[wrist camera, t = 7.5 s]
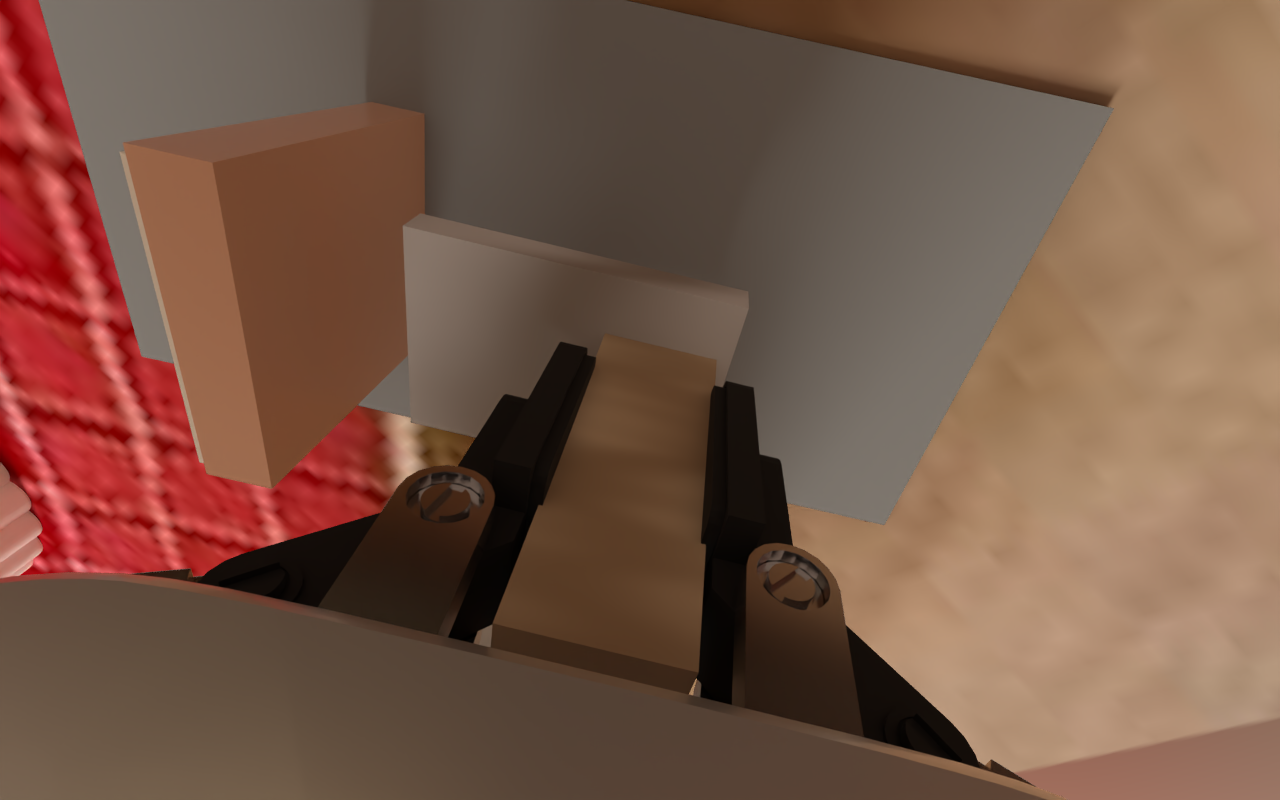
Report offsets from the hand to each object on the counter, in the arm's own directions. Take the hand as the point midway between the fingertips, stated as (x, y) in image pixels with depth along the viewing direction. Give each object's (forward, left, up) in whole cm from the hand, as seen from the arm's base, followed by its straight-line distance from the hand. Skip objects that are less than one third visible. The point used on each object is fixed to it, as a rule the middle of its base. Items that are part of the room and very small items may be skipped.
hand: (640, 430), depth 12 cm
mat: (-3, +3, -8) cm, 9 cm away
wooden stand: (-1, +1, -2) cm, 3 cm away
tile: (-6, +6, -7) cm, 11 cm away
